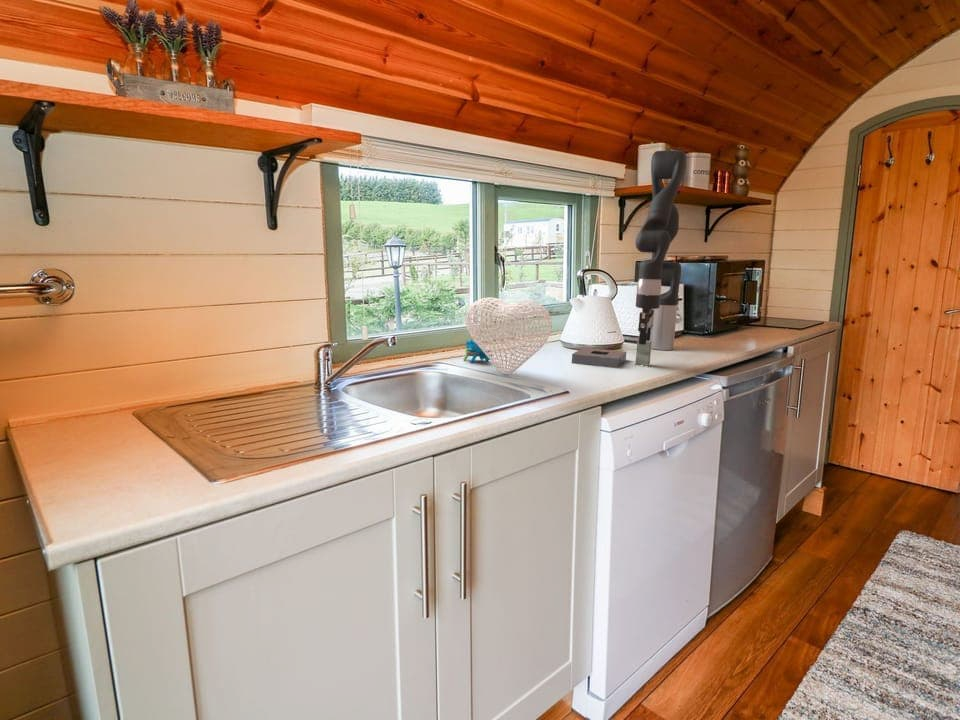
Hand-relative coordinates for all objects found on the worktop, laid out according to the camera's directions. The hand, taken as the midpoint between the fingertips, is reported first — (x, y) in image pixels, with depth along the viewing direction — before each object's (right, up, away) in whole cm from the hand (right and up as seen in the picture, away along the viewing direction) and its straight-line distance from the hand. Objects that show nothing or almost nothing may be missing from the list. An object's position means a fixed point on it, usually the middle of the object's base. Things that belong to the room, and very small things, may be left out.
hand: (644, 342), depth 191 cm
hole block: (-14, -6, +6) cm, 16 cm away
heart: (-46, -10, -18) cm, 51 cm away
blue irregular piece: (-55, -7, 0) cm, 55 cm away
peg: (0, -7, +2) cm, 8 cm away
